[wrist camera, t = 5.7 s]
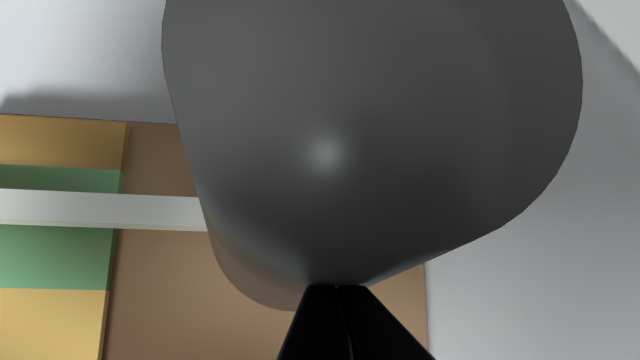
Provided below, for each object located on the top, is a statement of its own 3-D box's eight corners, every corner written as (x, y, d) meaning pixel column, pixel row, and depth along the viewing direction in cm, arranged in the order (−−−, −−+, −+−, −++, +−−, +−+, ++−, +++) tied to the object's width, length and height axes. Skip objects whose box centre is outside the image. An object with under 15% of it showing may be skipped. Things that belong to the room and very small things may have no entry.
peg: (380, 313, 14) (609, 262, 5) (-46, 305, 12) (-666, 220, 4) (374, 14, 16) (521, -348, 8) (19, -18, 15) (-272, -498, 6)
